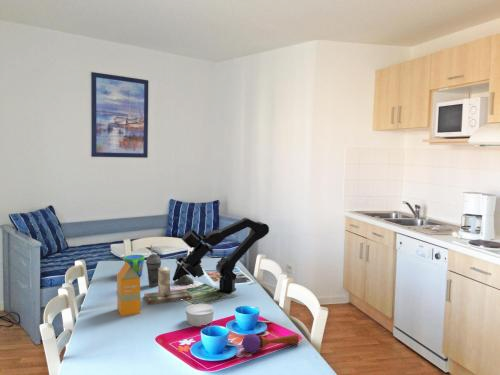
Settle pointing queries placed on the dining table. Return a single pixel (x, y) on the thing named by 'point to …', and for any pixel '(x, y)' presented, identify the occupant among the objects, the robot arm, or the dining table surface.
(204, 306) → the ramekin
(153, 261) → the beverage cup
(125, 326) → the dining table surface
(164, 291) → the slider block
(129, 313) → the orange juice
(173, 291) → the gauge board
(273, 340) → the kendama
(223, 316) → the dining table surface
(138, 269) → the snack cup
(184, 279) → the sword in stone
